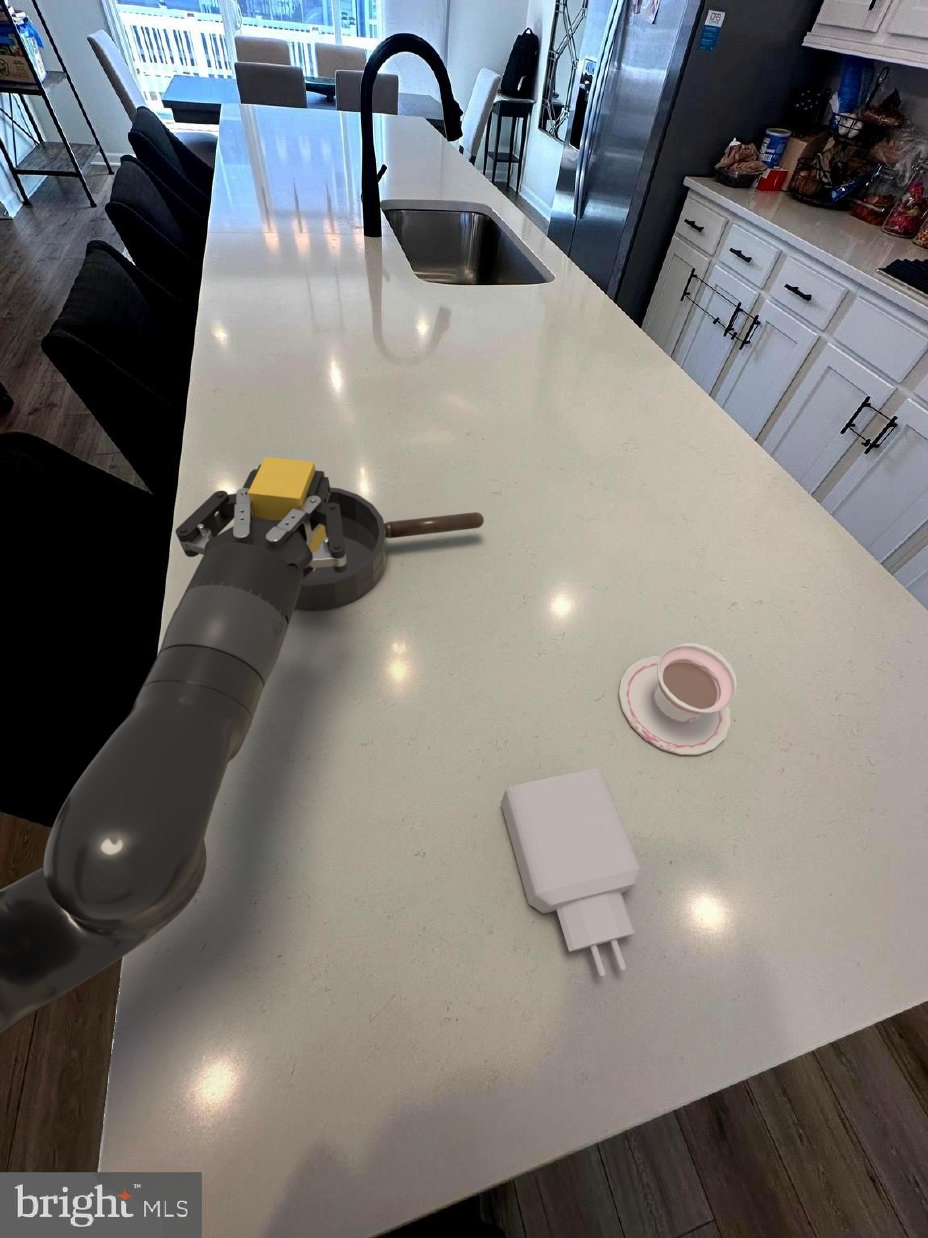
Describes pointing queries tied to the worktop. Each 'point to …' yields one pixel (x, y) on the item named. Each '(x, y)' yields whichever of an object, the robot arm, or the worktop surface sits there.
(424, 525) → the pan handle
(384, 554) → the pan
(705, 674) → the teacup
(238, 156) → the worktop surface
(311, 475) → the cheese
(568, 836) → the charger
